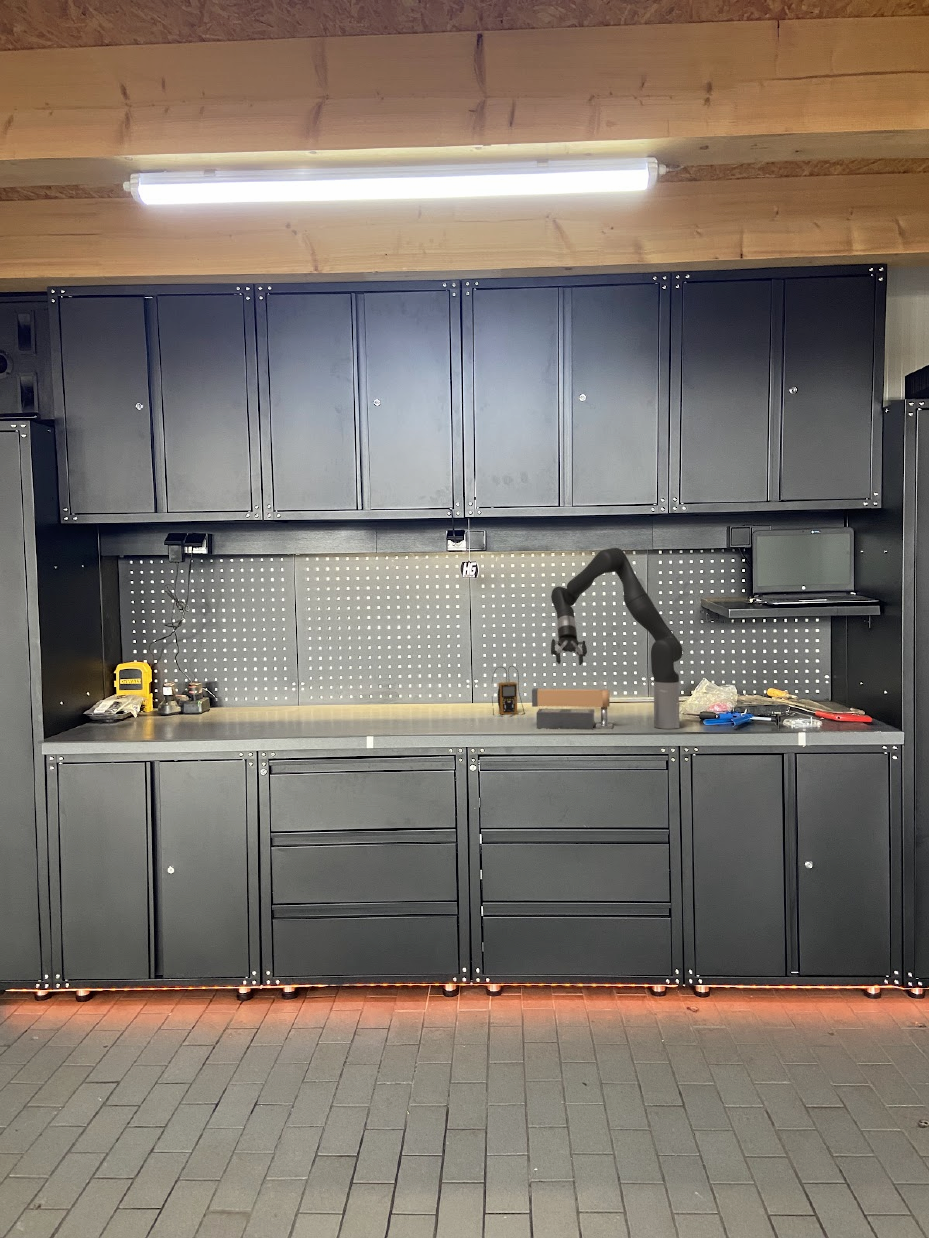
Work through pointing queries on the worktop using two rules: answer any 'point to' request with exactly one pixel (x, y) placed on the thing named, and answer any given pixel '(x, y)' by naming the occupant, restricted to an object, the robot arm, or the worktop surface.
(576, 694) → the bar
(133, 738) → the worktop surface
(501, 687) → the multimeter
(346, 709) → the worktop surface
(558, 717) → the dark grey brick
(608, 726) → the hinge post
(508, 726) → the worktop surface
